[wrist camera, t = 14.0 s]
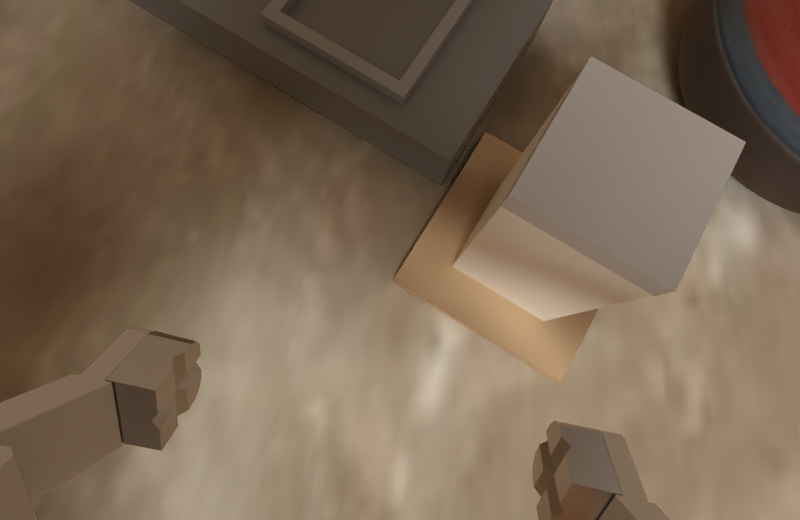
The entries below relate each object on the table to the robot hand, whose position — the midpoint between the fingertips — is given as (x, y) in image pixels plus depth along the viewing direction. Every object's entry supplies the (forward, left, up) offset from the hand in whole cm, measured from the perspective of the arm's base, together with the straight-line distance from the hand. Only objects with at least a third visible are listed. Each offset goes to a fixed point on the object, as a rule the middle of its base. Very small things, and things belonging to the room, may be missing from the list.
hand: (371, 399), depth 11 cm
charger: (+9, -3, -11) cm, 14 cm away
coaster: (+9, -3, -11) cm, 15 cm away
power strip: (+15, +16, -11) cm, 25 cm away
